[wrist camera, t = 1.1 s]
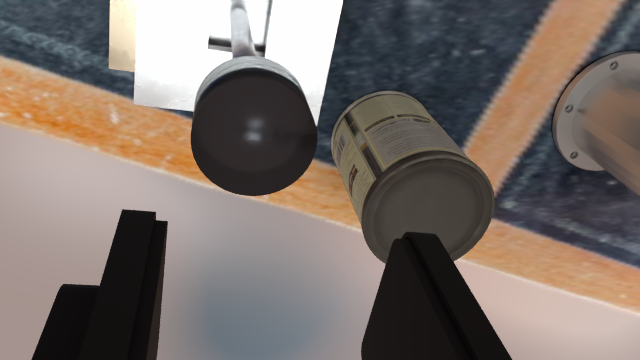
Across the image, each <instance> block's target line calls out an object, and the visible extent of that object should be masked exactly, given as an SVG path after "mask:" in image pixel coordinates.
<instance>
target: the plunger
mask: <svg viewBox="0 0 640 360" xmlns="http://www.w3.org/2000/svg"><path fill="white" fill-rule="evenodd" d="M270 6H271V0H212V7H211V17H210V27H209V37H208V44H210V45H217V46H224V47H231V48H232V59H230V60H228V61H225V62H223V63H221V64H220V65H218V66H217V67H215V68H214V69H213V70H212V71H210V72H209V74H208V75H207V76H206V77H205V78H204V80H203V81H202V83H201V84H200V86H199V89H198V91H197V94H196V98H195V104H194V112H193V121H192V130H191V147H192V152H193V156H194V159H195V161H196V163H197V165H198V167H199V168H200V170H201V171H202V172H203V174H204V175H205V176H206V177H207V178H208V179H209V180H210V181H211V182H213V183H214V184H216V185H217V186H219V187H220V188H222V189H224V190H227V191H229V192H232V193H235V194H239V195H246V196H260V195H266V194H271V193H274V192H277V191H280V190H282V189H284V188H286V187H288V186H289V185H291V184H292V183H294V182H295V181H296V180H298V179H299V178H300V177H301V176H302V175H303V174H304V172H305V171H306V170H307V168H308V167H309V165H310V164H311V162H312V159H313V157H314V154H315V151H316V146H317V129H316V124H315V121H314V118H313V115H312V113H311V110H310V108H309V105H308V102H307V100H306V97H305V95H304V92H303V90H302V87H301V85H300V83H299V82H298V80H297V79H296V77H295V76H294V75H293V74H292V73H291V72H290V71H289V70H288V69H287V68H285V67H284V66H282V65H281V64H279V63H277V62H275V61H273V60H270V59H267V58H263V57H258V56H256V53H255V51H258V52H264V47H265V40H266V33H267V27H268V20H269V13H270Z"/></svg>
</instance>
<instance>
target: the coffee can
mask: <svg viewBox="0 0 640 360" xmlns="http://www.w3.org/2000/svg"><path fill="white" fill-rule="evenodd" d="M331 152H332V157H333V160H334V162H335V164H336V166H337V168H338V170H339V172H340V175H341V177H342V179H343V182H344V184H345V187H346V189H347V192H348V194H349V196H350V199H351V202H352V204H353V206H354V209H355V212H356V214H357V216H358V218H359V221H360V223H361V225H362V231H363V235H364V238H365V241H366V243H367V245H368V247H369V248H370V250H371V251H372V253H373V254H374V255H375V256H376V257H377V258H378V259H380V260H381V261H382V262H384V263H385V264H386V262H387V259H388V256H389V252H390V249H391V246H392V243H393V241H394V240H395V239H396V238H400V239H401V238H402V236H403V235H404V233H406V232H420V233H432V234H436V235H437V236H438V237H439V239H440V240H441V242H442V244H443V245H444V247H445V249H446V250H447V252H448V254H449V255H450V257H451V259H452V260H453V261H455V260H457V259H458V258H460V257H461V256H463V255H464V254H466V253H467V252H468V251H469V250H470V249H472V248H473V247H474V246H475V245H476V243H477V242H478V241H479V240H480V239H481V238H482V236H483V235H484V233H485V232H486V230H487V228H488V226H489V224H490V221H491V219H492V215H493V211H494V192H493V188H492V186H491V183H490V181H489V179H488V177H487V176H486V174H485V173H484V172H483V171H482V170H481V169H480V168H479V167H478V166H477V165H476V164H475V163H473V162H472V161H471V160H470V159H469V158H468V157H467V156H466V154H465V153H464V152H463V151H462V150H461V149H460V148H459V147H458V146H457V144H456V143H455V142H454V141H453V140H452V139H451V138H450V137H449V136H448V134H447V133H446V132H445V131H444V130H443V129H442V128H441V127H440V126H439V125H438V123H437V122H436V121H435V120H434V119H433V118H432V117H431V116H430V114H429V113H428V112H427V111H426V109H425V108H424V107H423V105H422V104H421V103H420V102H418V101H417V100H416V99H415V98H413V97H411V96H410V95H408V94H405V93H401V92H397V91H379V92H375V93H372V94H368V95H365V96H363V97H362V98H360V99H358V100H356V101H355V102H354V103H352V104H351V105H350V106H349V107H347V108H346V110H345V111H344V112H343V113H342V114H341V116H340V117H339V119H338V120H337V122H336V124H335V127H334V129H333V132H332V137H331Z"/></svg>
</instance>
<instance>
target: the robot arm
mask: <svg viewBox="0 0 640 360" xmlns="http://www.w3.org/2000/svg"><path fill="white" fill-rule="evenodd" d="M552 132H553V139H554V142H555V145H556V147H557V149H558V151H559V152H560V153H561V155H562V156H563V157H564V158H565V159H566V160H568V161H569V162H570V163H572V164H573V165H575V166H576V167H579V168H582V169H585V170H591V171H602V170H606V171H607V172H609V173H610V174H611V175H613V176H614V177H615V178H617V179H618V180H619V181H621V182H622V183H623V184H624V185H626V186H627V187H628V188H630V189H631V190H632V191H634V192H635V193H636V194H637V195H639V196H640V52H637V51H623V52H618V53H614V54H610V55H608V56H606V57H603V58H601V59H599V60H597V61H596V62H594V63H592V64H591V65H589V66H588V67H586V68H585V69H584V70H583V71H582V72H581V73H579V74H578V75H577V76H576V77H575V78H574V80H573V81H572V82H571V83H570V84H569V85H568V87H567V88H566V90H565V91H564V93H563V94H562V96H561V98H560V100H559V102H558V104H557V107H556V110H555V113H554V117H553V126H552ZM167 225H168V222H167V221H158V220H156V212H150V211H137V210H124V209H123V210H122V212H121V215H120V219H119V222H118V226H117V229H116V233H115V236H114V239H113V242H112V246H111V249H110V253H109V256H108V259H107V263H106V266H105V270H104V273H103V277H102V280H101V283H100V286H96V285H75V284H63V285H62V286H61V287H60V289H59V291H58V293H57V296H56V298H55V301H54V303H53V306H52V309H51V311H50V314H49V316H48V319H47V321H46V324H45V327H44V329H43V332H42V334H41V337H40V339H39V342H38V345H37V347H36V350H35V352H34V355H33V357H32V360H156V358H157V349H158V340H159V328H160V315H161V302H162V289H163V277H164V264H165V251H166V239H167ZM361 356H362V360H512V359H511V357H510V355H509V354H508V352H507V350H506V349H505V347H504V345H503V344H502V342H501V340H500V339H499V337H498V335H497V334H496V332H495V330H494V329H493V327H492V325H491V324H490V322H489V320H488V319H487V317H486V315H485V314H484V312H483V310H482V309H481V307H480V305H479V304H478V302H477V300H476V299H475V297H474V295H473V294H472V292H471V291H470V289H469V287H468V285H467V284H466V282H465V280H464V279H463V277H462V275H461V274H460V272H459V270H458V269H457V267H456V265H455V264H454V262H453V260H452V259H451V257H450V255H449V254H448V252H447V250H446V249H445V247H444V245H443V244H442V242H441V240H440V239H439V237H438V236H437V235H436V234H432V233H420V232H406V233H404V235H403V236H402V238H401V239H400V238H396V239H395V240H394V241H393V243H392V246H391V249H390V252H389V256H388V259H387V262H386V265H385V269H384V272H383V275H382V279H381V282H380V286H379V289H378V292H377V295H376V299H375V302H374V305H373V308H372V312H371V315H370V318H369V321H368V325H367V328H366V331H365V335H364V338H363V342H362V348H361Z"/></svg>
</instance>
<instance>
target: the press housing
mask: <svg viewBox="0 0 640 360" xmlns="http://www.w3.org/2000/svg"><path fill="white" fill-rule="evenodd" d="M342 3H343V0H271V6H270V13H269V20H268V27H267V33H266V40H265V47H264V52H258V51H255V53H256V56H258V57H263V58H267V59H270V60H273V61H275V62H277V63H279V64H281V65H282V66H284V67H285V68H287V69H288V70H289V71H290V72H291V73H292V74H293V75H294V76H295V77H296V79H297V80H298V82H299V83H300V85H301V87H302V90H303V92H304V95H305V97H306V100H307V102H308V105H309V108H310V110H311V113H312V115H313V118H314V121H315V124H316V126H317V123H318V118H319V113H320V108H321V103H322V99H323V95H324V91H325V86H326V81H327V76H328V71H329V66H330V61H331V56H332V52H333V47H334V42H335V37H336V32H337V27H338V22H339V17H340V13H341V8H342ZM211 7H212V0H110V35H109V69H115V70H123V71H131V72H135V84H134V104H136V105H145V106H153V107H161V108H170V109H178V110H186V111H194V104H195V98H196V94H197V91H198V89H199V86H200V84H201V83H202V81H203V80H204V78H205V77H206V76H207V75H208V74H209V72H210V71H212V70H213V69H214V68H215V67H217V66H218V65H220V64H221V63H223V62H225V61H228V60H230V59H232V48H231V47H224V46H217V45H210V44H208V37H209V27H210V17H211Z"/></svg>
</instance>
